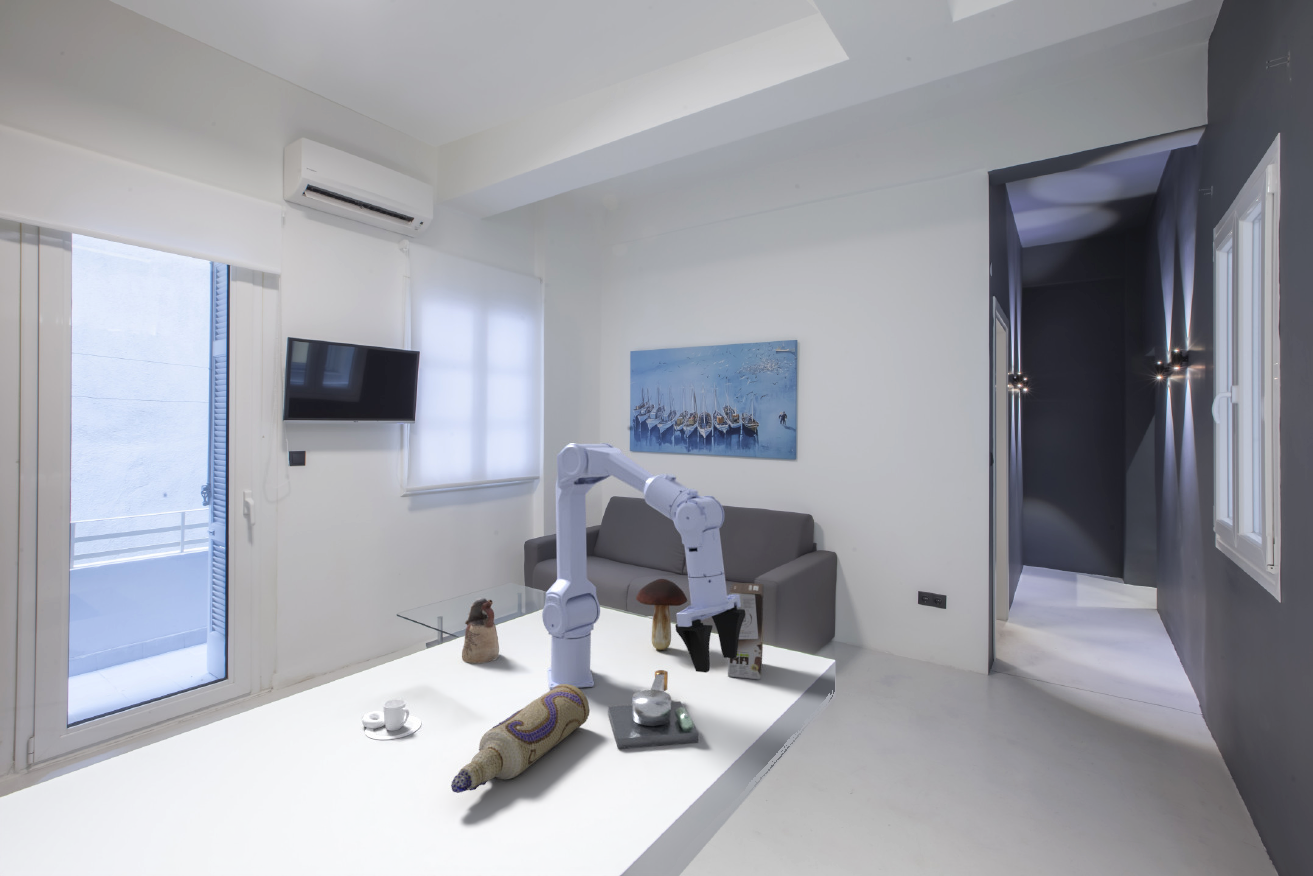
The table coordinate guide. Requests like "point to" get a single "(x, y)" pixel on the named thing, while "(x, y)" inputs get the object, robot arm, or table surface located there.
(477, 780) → the decorative bottle
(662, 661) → the table surface
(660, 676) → the silver pan
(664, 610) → the decorative mushroom
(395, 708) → the teacup and saucer
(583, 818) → the table surface
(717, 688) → the table surface
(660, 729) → the plate
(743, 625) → the coffee box
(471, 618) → the figurine
